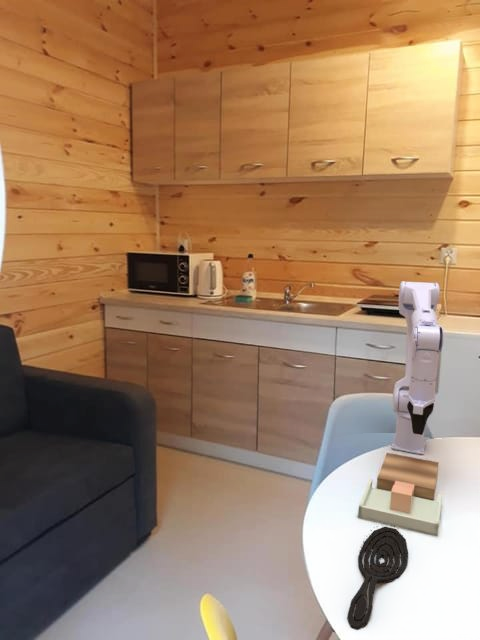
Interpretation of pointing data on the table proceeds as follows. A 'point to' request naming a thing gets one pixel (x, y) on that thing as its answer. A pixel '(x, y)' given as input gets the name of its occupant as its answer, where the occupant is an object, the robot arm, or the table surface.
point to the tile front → (401, 499)
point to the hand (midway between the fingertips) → (417, 433)
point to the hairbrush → (377, 570)
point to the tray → (419, 519)
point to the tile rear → (405, 486)
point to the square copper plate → (409, 474)
